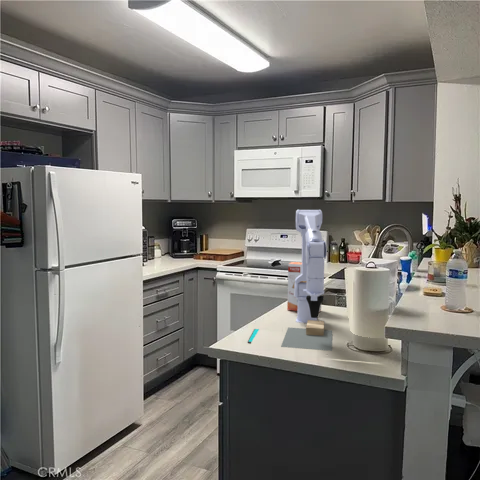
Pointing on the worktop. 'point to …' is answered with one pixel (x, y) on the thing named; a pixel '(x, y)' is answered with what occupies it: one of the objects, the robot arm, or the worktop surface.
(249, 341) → the smartphone
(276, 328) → the worktop surface
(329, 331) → the rubber mat
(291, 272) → the cracker box
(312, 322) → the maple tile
